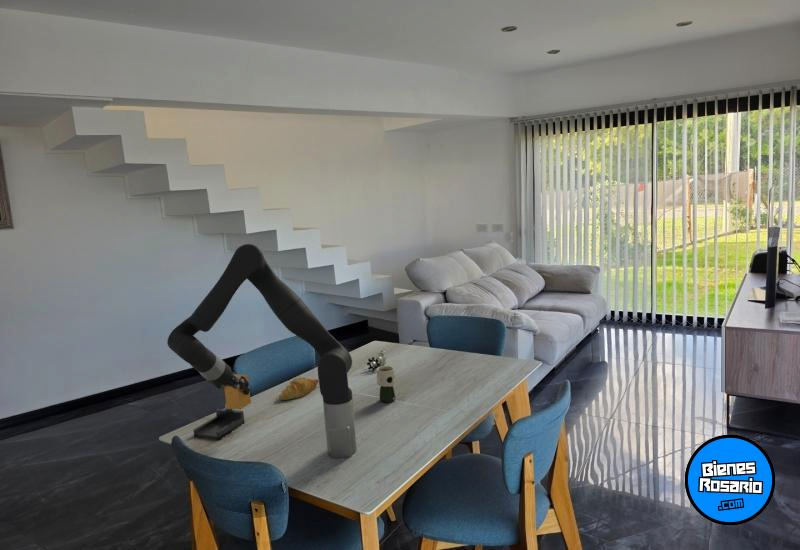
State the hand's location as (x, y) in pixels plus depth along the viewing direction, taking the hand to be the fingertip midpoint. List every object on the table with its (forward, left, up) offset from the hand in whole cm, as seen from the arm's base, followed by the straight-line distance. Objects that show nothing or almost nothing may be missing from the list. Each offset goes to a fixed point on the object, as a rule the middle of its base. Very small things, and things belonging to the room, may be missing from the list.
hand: (240, 391), depth 188 cm
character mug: (+21, -51, -16) cm, 58 cm away
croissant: (+38, -15, -17) cm, 44 cm away
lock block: (-2, +1, -4) cm, 5 cm away
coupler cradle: (+7, +10, -16) cm, 20 cm away
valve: (+65, -50, -16) cm, 83 cm away
